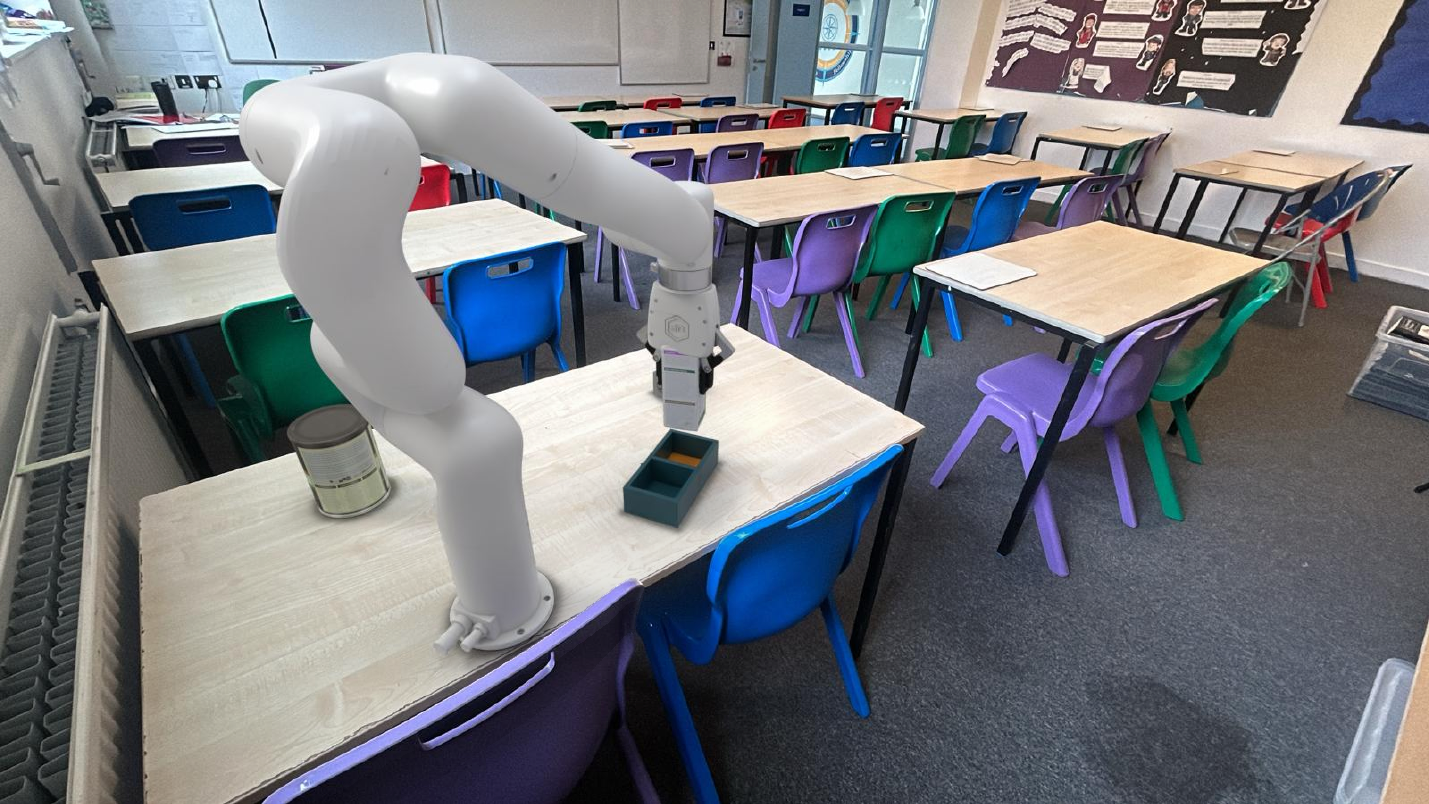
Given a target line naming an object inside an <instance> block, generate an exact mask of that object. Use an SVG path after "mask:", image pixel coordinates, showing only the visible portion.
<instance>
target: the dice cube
mask: <svg viewBox="0 0 1429 804" xmlns="http://www.w3.org/2000/svg"><path fill="white" fill-rule="evenodd" d="M652 394H654V395H655V396H657V397H659V398H660V399H662V400H663V392H662V385H658V377H657V376H656V370H654V371H652Z"/></svg>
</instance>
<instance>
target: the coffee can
mask: <svg viewBox="0 0 1429 804" xmlns="http://www.w3.org/2000/svg"><path fill="white" fill-rule="evenodd" d="M372 428H373V427H372V426H371V425H370V423H369V422H368V421H367V420H366V419H365V418H364V417H363V416H362V415H361V414H360V412H359V411H358V410H357V409H356V408H355V407H354V406H353V405H352V403H351V404H349V403H339V404H338V403H337V404H332V405H327V406H322V407H319V408H315V409H313V410H310V411H308V412H306V413H304V414H302V415H300V416H299V417H297V418H296V419H294V420H293V421H292V422H291V423H290V424H289V426H288V428H287V430H286V435H287V438H288V440H289V441H290V442H291V444H292V447H293V449H294V452H295V454H296V457H297V459H298V461H299V463H300V466H301V468H302V470H303V473H304V475H305V478H306V480H307V482H308V485H309V488H310V490H311V493H312V495H313V497H314V499H315V502H316V504H317V509H318V511H319V512H320V513H321V514H322V515H324V516H325V517H328V518H331V519H347V518H354V517H357V516H360V515H361V516H362V515H364V514H366V513H369V512H370V511H373V510H374V509H376V508H378V507H379V506H380V505H382V504H383V503H384V502H385V501H386V500H387V499H388V497H389V496H390V494H391V490H392V486H391V483H390V481H389V478H388V475H387V471H386V469H385V465H384V462H383V459H382V457H381V453H380V450H379V447H378V444H377V440H376V437H375V435H374V431H373V429H372Z"/></svg>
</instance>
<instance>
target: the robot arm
mask: <svg viewBox="0 0 1429 804" xmlns="http://www.w3.org/2000/svg"><path fill="white" fill-rule="evenodd" d="M238 136H239V141H240V145H241V147H242V149H243V151H244V154H245V156H246V157H247V159H248V160H249V161H250V163H251V165H252V166H253V167H254V168H255V169H256V170H257V171H258V172H259V173H260V174H261V175H262V176H263V177H264V178H266V179H267V180H269V181H270V182H272V183H273V184H275V185H276V186H279V187H280V188H282V189H283V191H282V195H281V198H280V204H279V209H278V215H277V220H276V221H277V222H276V232H275V248H276V250H275V251H276V256H277V257H276V258H277V262H278V265H279V268H280V271H281V273H282V275H283V277H284V280H285V282H286V283H287V285H288V287H289V289H290V290H291V292H292V294H293V296H294V297H295V299H296V300H297V301H298V302H299V304H300V305H301V307H302V308H303V309H304V311H305V312H306V313H307V314H308V316H309V317H310V318H311V320H312V323H311V329H310V334H309V335H310V339H309V340H310V346H311V351H312V353H313V356H314V358H315V360H316V362H317V364H318V366H319V367H320V369H321V370H322V372H324V374H325V375H326V376H327V378H328V379H329V380H330V381H331V382H332V383H333V384H334V385H335V387H336V388H337V389H338V391H340V392H341V394H342V395H343V396H344V398H346V399H347V400H348V401H349V403H351V404H352V405H353V406H354V407H355V408H356V409H357V410H358V411H359V412H360V414H361V415H362V416H363V417H364V418H365V419H366V420H367V421H368V422H369V423H370V425H371V428H373V429H374V430H375V432H377V433H378V434H379V435H380V436H381V437H382V438H383V439H384V440H386V442H388V443H389V444H391V445H392V446H393V447H395V448H396V449H397V450H399V451H400V452H401V453H403V454H405V455H406V456H408V457H409V458H411V459H412V460H413V461H414V462H415V463H417V465H419V466H421V467H422V468H423V469H424V470H426V471H427V473H429V474H430V476H431V477H432V479H433V480H434V482H435V486H436V493H435V497H434V506H433V507H434V514H435V519H436V523H437V527H438V531H439V534H440V538H441V541H442V545H443V548H444V551H445V555H446V558H447V563H448V567H449V570H450V574H451V577H452V580H453V585H454V588H455V591H456V594H457V595H456V596H455V598H454V600H453V602H452V605H451V607H450V613H449V620H450V621H449V622H450V626H449V627H448V628H447V630H446V631H444V632H443V633H442V634H441V635H440V636H439V637H438V638H437V639H436V641H434V642H433V644H432V647H433V648H434V650H435V651H436V652H437V653H438V654H440V655H441V656H446V655H448V654H449V652H450V651H451V650H452V649H453V648H454V647H455V645H456V644H457V643H458V641H459V642H461V643H460V644H459V647H460V649H461V650H462V651H463V652H465V653H471V651H472V650H473V649H476V650H482V651H497V650H498V651H499V650H503V649H507V648H511V647H514V646H516V645H520V644H521V643H523V642H525V641H527V640H528V639H530V638H532V637H533V636H534V635H535V634H537V633H538V632H539V631H540V630H541V629H542V628H543V627H544V625H545V624H546V623H547V621H548V620H549V618H550V617H551V615H552V612H553V609H554V605H555V596H554V589H553V586H552V584H551V581H549V579H548V578H547V577H546V576H545V575H544V574H542V572H540V571H538V570H537V564H536V559H535V558H536V557H535V551H534V546H533V540H532V535H531V529H530V521H529V517H528V512H527V511H528V510H527V506H526V500H525V494H524V487H523V486H524V485H523V468H522V467H523V456H524V435H523V432H522V431H523V430H522V428H521V426H520V424H519V422H518V421H517V419H516V418H515V417H514V415H513V414H512V413H511V412H509V411H508V409H506V408H505V407H504V406H503V405H502V404H500V403H499V402H496V401H495V400H493V399H492V398H490V397H488V396H487V395H484V394H483V393H481V392H479V391H477V390H475V389H474V388H471V387H469V386H468V385H466V384H465V383H466V377H467V376H466V374H467V370H466V369H467V368H466V361H465V359H464V356H463V354H462V351H461V349H460V346H459V344H458V342H457V341H456V339H455V338H454V337H453V335H452V333H451V332H450V331H449V329H448V327H447V326H446V325H445V323H444V321H443V320H442V318H441V317H440V316H439V314H438V312H437V310H436V308H434V306H433V304H432V303H431V302H430V300H429V299H428V297H427V295H426V294H425V292H424V291H423V289H422V288H421V286H420V284H419V283H418V280H417V279H416V277H415V275H414V273H413V271H412V270H411V267H410V266H409V264H408V262H407V259H406V257H405V254H404V249H403V241H402V240H403V230H404V226H405V222H406V219H407V216H408V213H409V210H410V208H411V206H412V203H413V201H414V198H415V195H416V194H417V191H418V189H419V186H420V180H421V174H422V157H421V156H422V155H421V154H424V153H428V154H432V155H436V156H439V157H444V158H449V159H452V160H454V161H457V162H459V163H461V164H463V165H465V166H468V167H470V168H472V169H474V170H475V171H477V172H479V173H481V174H483V175H484V176H486V177H488V178H490V179H492V180H494V181H497V182H498V183H501V185H504V186H506V187H508V188H510V189H511V190H513V191H515V192H517V193H518V194H521V195H523V196H524V197H526V198H528V199H530V200H531V201H533V202H535V203H537V204H539V205H540V206H542V207H544V208H545V209H547V210H550V211H552V212H555V213H557V214H559V215H562V216H565V217H567V218H570V219H572V220H575V221H577V222H582V223H585V224H589V225H593V226H596V227H600V230H601V231H602V233H603V236H604V237H605V238H606V239H607V240H608V241H609V242H611V243H612V244H613V245H615V246H617V247H619V248H621V249H624V250H627V251H631V252H634V253H638V254H642V255H647V256H648V257H649V256H650V257H652V258H653V257H654V258H657V261H656V262H655V261H651V263H650V265H649V270H650V272H654V273H655V274H656V275H657V276H656V278H657V279H656V280H655V281H653V282H652V287H651V292H650V297H649V298H650V299H649V306H648V316H647V323H646V324H645V325H644V326H642V327H641V328H640V329H639V330H638V331H636V334H635V335H636V337H637V338H638V339H639V340H640V342H641V343H642V344H643V345H644V347H645V349H646V350H647V351H648V352H649V353H650V355H651V356H652V360H653V362H655V371H656V376H657V377H658V385H662V357H661V347H662V346H671V347H672V348H674V349H676V350H677V352H678V353H680V354H684V355H688V356H692V357H697V358H699V360H700V362H701V365H702V367H703V369H702V370H701V371H700V381H699V393H700V394H702V395H704V394H705V393H706V394H707V392H708V391H709V389H712V387H713V386H714V378H715V376H714V374H715V368H717V367H718V366H720V365H721V364H722V363H723V362H725V361H726V360H728V359H729V358H730V357H731V356H733V354H734V353H735V352H736V348H735V346H733V344H732V343H731V342H730V341H729V339H728V338H727V336H725V335H724V334H723V332H722V331H721V314H720V304H719V298H718V297H719V295H718V292H717V291H718V290H717V287H716V284H715V283H713V282H712V281H713V255H714V254H713V250H714V221H715V220H714V219H715V217H714V216H715V195H714V191H713V189H712V188H711V187H710V186H709V185H708V184H706V183H703V182H700V181H693V180H675V181H674V180H671V179H670V178H669V177H667V176H666V175H664V174H662V173H661V172H659V171H656V170H654V169H652V168H651V167H649V166H647V165H645V164H643V163H641V162H639V161H637V160H635V159H633V158H631V157H630V156H628V155H626V154H625V153H623V152H621V151H620V150H617V149H615V148H614V147H612V146H610V145H608V144H607V143H604V142H601V141H600V140H599V139H595V138H594V137H592V136H590V135H589V134H587V133H585V132H584V131H583V130H581V129H580V128H578V127H577V126H576V125H574V124H573V123H572V122H570V121H569V120H567V119H566V118H565V117H563V116H562V115H561V114H560V113H558V112H557V111H555V110H554V109H553V108H551V107H550V106H549V105H547V104H546V103H544V102H543V101H542V100H540V99H539V98H538V97H536V96H535V95H533V94H532V93H531V92H530V91H529V90H527V89H526V88H524V87H523V86H521V85H520V84H519V83H517V82H516V81H515V80H514V79H512V78H511V77H509V76H508V75H506V74H505V73H504V72H503V71H501V70H499V69H498V68H497V67H495V66H493V65H491V64H489V63H488V62H486V61H483V60H480V59H478V58H475V57H472V56H466V55H461V54H460V55H458V54H445V53H436V52H435V53H434V52H424V51H423V52H422V51H414V52H406V53H405V52H404V53H398V54H395V55H390V56H384V57H381V58H378V59H372V60H369V61H364V62H361V63H357V64H356V63H355V64H351V65H348V66H347V65H346V66H344V67H339V68H335V69H330V70H326V71H325V70H324V71H321V72H316V73H311V74H306V75H302V76H297V77H291V78H288V79H284V80H279V81H276V82H273V83H270V84H268V85H265V86H263V87H262V88H261V89H259V90H257V91H255V92H254V93H253V94H252V95H251V96H250V97H249V98H248V99H247V100H246V101H245V103H244V105H243V106H242V109H241V110H240V115H239V118H238ZM716 347H718V348H719V349H720V350H721V351H720V352H718V353H717V354H715V352H714V348H716Z"/></svg>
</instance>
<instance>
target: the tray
mask: <svg viewBox="0 0 1429 804" xmlns="http://www.w3.org/2000/svg"><path fill="white" fill-rule="evenodd" d="M719 449H720V440H718V439H714V438H711V437H707V436H703V435H698V434H695V433H690V432H686V431H683V430H679V429H674V428H669V429H668V431H667V432H666V434H664V436H663V437H662V439H661V440H660V441H659V442H658V443H657V445H656V446H655V447H654V448H653V449H652V451H651V452H650V453H649V455H648V456H647V457H646V458H645V460H643V461H642V463H641V464H640V466H639V467H638V468H637V469H636V470H635V471H634V473H633V474H632V475H631V476H630V477H629V479H628V480H627V482H626V483H625V484H624V485H623V486H622V495H623V496H622V497H623V513H626V514H628V515H629V514H630V515H633V516H636V517H639V518H642V519H646V520H650V521H653V522H656V523H659V524H663V525H665V526H670V527H672V528H676V529H678V528H679V527H680V525H681V524H682V523H683V520H684V519H685V517H686V515H687V514H688V512H689V510H690V509H691V508H692V506H693V504H694V503H695V501H696V499H697V498H698V496H699V495H700V493H701V492H702V490H703V488H704V487H705V485H706V483H708V481H709V480H710V477H711V476H712V474H713V472H714V471H715V469H716V468H717V466H718V464H719V452H720V451H719Z"/></svg>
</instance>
